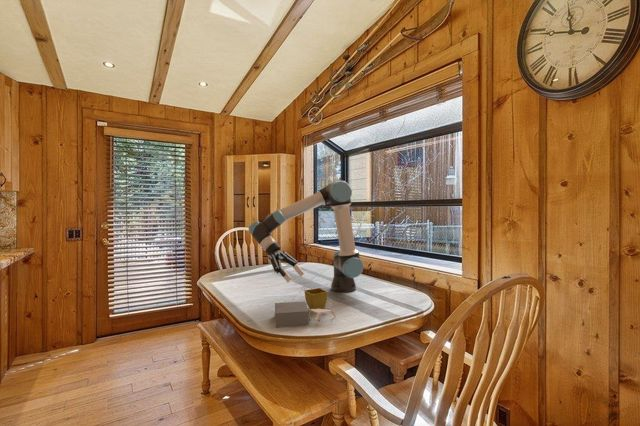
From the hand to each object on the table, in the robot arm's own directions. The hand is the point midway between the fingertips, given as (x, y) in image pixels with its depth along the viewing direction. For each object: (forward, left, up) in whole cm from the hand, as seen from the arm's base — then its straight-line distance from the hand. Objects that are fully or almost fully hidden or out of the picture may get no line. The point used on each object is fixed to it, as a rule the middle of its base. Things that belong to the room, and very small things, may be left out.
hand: (296, 277), depth 156 cm
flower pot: (-9, +6, -15) cm, 18 cm away
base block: (+4, +19, -15) cm, 24 cm away
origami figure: (-9, +23, -15) cm, 29 cm away
